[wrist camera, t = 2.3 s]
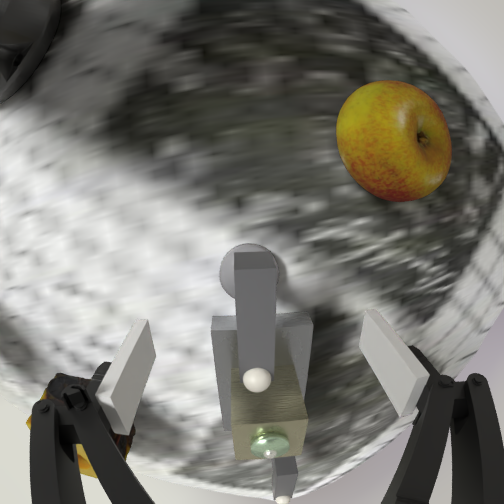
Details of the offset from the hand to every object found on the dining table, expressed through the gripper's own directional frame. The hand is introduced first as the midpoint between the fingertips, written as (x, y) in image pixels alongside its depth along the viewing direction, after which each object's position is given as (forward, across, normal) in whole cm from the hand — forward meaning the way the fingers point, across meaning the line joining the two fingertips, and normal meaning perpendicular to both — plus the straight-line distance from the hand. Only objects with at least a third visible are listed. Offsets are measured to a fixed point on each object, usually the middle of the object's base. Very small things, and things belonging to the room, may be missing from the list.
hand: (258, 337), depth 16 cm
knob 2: (+10, +3, -22) cm, 25 cm away
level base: (+10, +1, -12) cm, 15 cm away
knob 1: (+9, 0, 0) cm, 9 cm away
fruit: (+10, +11, +12) cm, 19 cm away
